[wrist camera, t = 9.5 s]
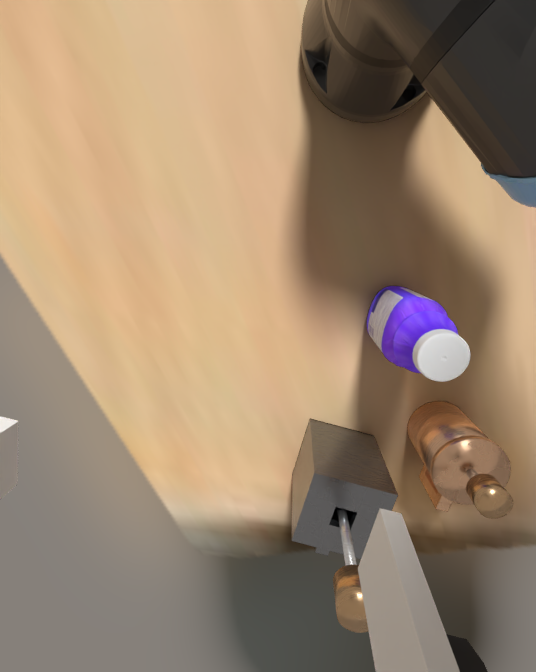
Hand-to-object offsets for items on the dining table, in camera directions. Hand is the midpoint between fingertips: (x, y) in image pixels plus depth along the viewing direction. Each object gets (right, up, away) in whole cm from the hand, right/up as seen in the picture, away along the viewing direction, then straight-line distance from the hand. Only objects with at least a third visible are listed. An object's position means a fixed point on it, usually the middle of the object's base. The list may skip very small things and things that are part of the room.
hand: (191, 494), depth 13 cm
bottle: (+18, +8, +32) cm, 38 cm away
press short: (+25, -8, +36) cm, 44 cm away
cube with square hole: (+11, -12, +38) cm, 41 cm away
